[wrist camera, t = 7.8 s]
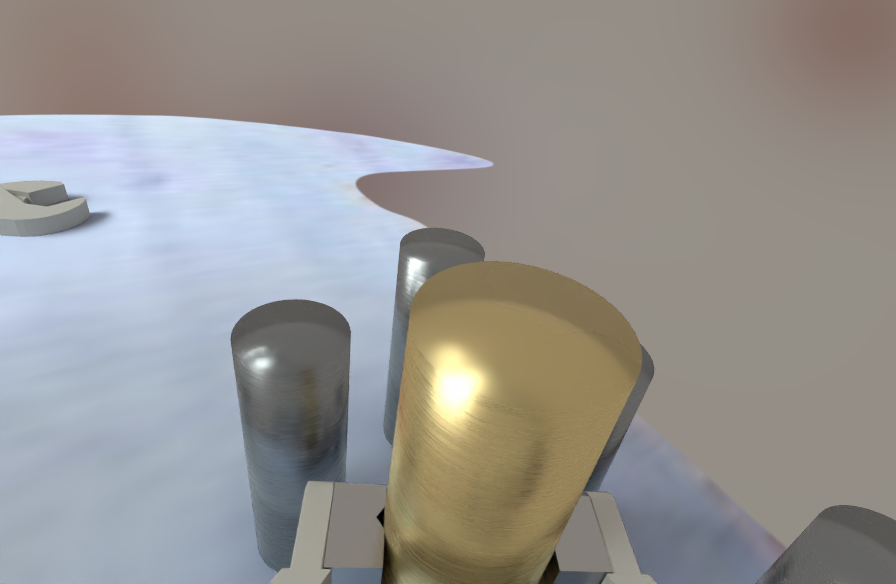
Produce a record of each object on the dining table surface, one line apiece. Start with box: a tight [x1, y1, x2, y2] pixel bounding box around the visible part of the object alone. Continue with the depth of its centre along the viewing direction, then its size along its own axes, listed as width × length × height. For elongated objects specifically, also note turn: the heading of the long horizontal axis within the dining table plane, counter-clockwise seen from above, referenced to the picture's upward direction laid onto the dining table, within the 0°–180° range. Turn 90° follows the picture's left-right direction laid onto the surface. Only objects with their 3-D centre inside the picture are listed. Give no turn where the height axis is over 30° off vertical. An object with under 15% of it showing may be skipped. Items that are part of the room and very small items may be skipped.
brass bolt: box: [381, 261, 642, 584], centre depth 10 cm, size 6×6×12 cm
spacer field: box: [231, 228, 896, 584], centre depth 18 cm, size 15×17×10 cm
